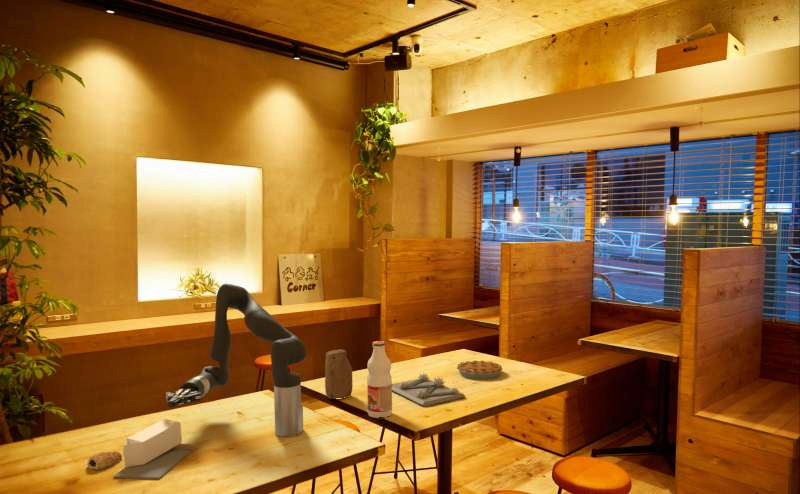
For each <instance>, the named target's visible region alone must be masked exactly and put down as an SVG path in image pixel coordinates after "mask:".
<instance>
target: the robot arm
mask: <svg viewBox="0 0 800 494" xmlns="http://www.w3.org/2000/svg"><path fill="white" fill-rule="evenodd" d="M215 299H216V300H215V311H214V315H215V316H214V331H213V338H212V343H211V347H210V353H209V358H210V359H211V360H213V361H215V362H217V363H218V366H219V367H218V366H212V365H208V366H205V367H202V370H201V372H200V373H199V374H198V375H197V376H194V377H192V378H191V379H189V380H187V381H186V382H184V383H182V384H181V386H180V387H179V389H178V390H176V391H174V393H172V392H170V391H166V392H165V397H166V399H165V400H166V401H167V407H168V409H170V408H173V409H174V408H175V407H176V406H179V405H182V404H184V405H187V404H192V403H196V402H199V401H201V400H202V398H203V397H204V396H205V395H206V394H207V393H209V392H210V391H212V390H213V388H214V387H222V388H223V387H224V386H226V385H227V384H228V383H229V379H230V369H229V355H230V350H231V347H232V334H231V330H230V327H229V322H228V310H229V309H234V310H237V311H239V312H241V314H243V315H244V318H243V320H244V325H245V326H246V328H247V329H248V330H249V331H250V332H251V333H252V334H253V335H254V336H256V337H257V338H259V339H261V340H264V341H267V342H271V343H272V344H271V347H270V361H271V362H270V363H271V375H272V378H273V395H274V396H273V401H274V403H273V405H274V433H275V435H276V436H278V437H282V438H288V437H289V438H290V437H295V436H296V437H297V436H300V435H301V434H302V432H303V431H304V404H303V403H302V390H301V389H302V381H301V380H302V377H301V375H300V374H298V373H296V372H291V371H290V370H289V366H291V365H296V364H298V363H301V362H303V360H304V359H305V358H306V356H307V350H306V349H307V348H306V346H305V344H304V343H303V341H302V340H301V339H300V338H299V337H298V336H296V335H295V334H294V333H292V332H291V331H290V330H288V329H287V328H285V327H284V326H283V325H282V324H281V323H279V322H278V320H276V319H275V318H274V317H273V316H272V315H271V313H269V312H268V311H267V310H266V309H265V308H264V307H262V306H261V305H260V304H259V303H258V302H257V301H256V300H255V299H254V298H253V297H252V295H251V294H250V293H249V291H248V290H247V289H246V288H244V287H242V286H240V285H236V284H232V283H223V284H222V285H221V286H219V288H218V290H217V293H216V298H215Z"/></svg>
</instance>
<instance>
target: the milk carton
mask: <svg viewBox="0 0 800 494" xmlns="http://www.w3.org/2000/svg"><path fill="white" fill-rule="evenodd" d="M181 427H182V425H181V421H176V420H171V419H168V418H167V419H166V418H163V419H161V420H160V421H158V422H155V423H154V424H152V425H150V426H148V427H146V428H144V429H142V430H140V431H137V432H136V433H134V434H132V435H130V436H128V437H127V438H125V439H126V441H125V442H126V444H124V445H122V448H123V449H122V458H123V460H124V461H123V462H124V468H127V467H130V466H136V465H143V464H146V463H147V462H149V461H151V460H153V459H154V458H156V457H158V456H160V455H161V454H163V453H165V452H166V451H168V450H170V449H172V448H173V447H175V446H177V445H179V444H183V441H182V439H183V437H182V428H181Z"/></svg>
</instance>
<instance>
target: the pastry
mask: <svg viewBox="0 0 800 494" xmlns="http://www.w3.org/2000/svg"><path fill="white" fill-rule="evenodd" d="M122 459H123V454H122V453H121V452H118V451H107V452H99V453H98V454H93V456H90V457H89V458H88V460H87V464H86V466H87V467H88V468H89V469H91V470H92V469H93V470H96V471H101V470H105V469H106V468H107V467H108V468H110V467H112V466H113V465H116V464H118V463H119V462H121V461H122Z"/></svg>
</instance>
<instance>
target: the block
mask: <svg viewBox="0 0 800 494" xmlns="http://www.w3.org/2000/svg"><path fill="white" fill-rule="evenodd" d="M347 354H348V353H347V351H346V350H345V349H333V350H328V351H326V353H325V362H324V363H325V367H324V368H325V370H324V373H325V374H324V377H325V378H324V389H325V390H324V391H325V395H326V397H327V398H328V399H329V400H331V399H336V398H344V397H347V398H349V397H351V396H352V392H353V367H352V365H351V363H350V361H349V359H348V358H347ZM348 396H349V397H348ZM330 398H331V399H330ZM344 399H345V398H344Z"/></svg>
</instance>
